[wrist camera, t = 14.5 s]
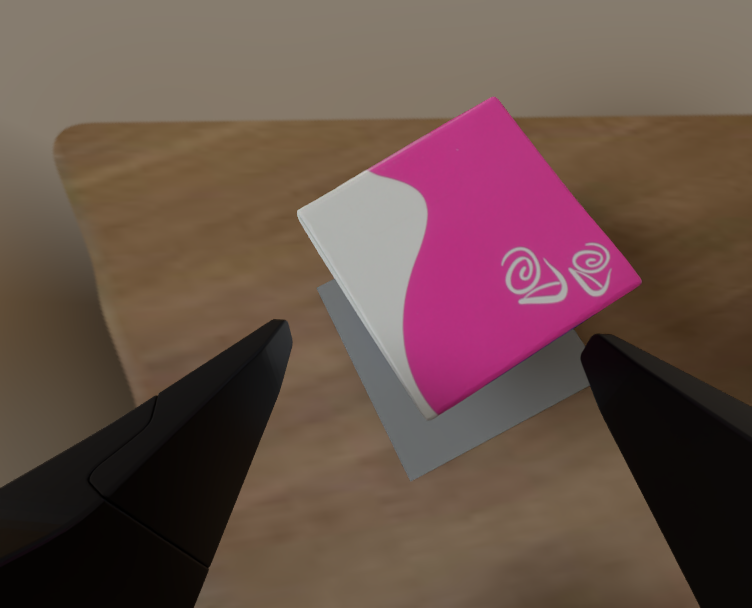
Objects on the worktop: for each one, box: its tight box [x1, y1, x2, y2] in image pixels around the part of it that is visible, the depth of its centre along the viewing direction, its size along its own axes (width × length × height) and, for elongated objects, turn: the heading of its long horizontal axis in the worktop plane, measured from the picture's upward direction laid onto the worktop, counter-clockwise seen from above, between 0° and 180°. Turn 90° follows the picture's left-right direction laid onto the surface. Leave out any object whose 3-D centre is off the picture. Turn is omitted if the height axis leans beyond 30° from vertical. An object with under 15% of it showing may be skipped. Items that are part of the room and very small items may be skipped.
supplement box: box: [297, 97, 642, 421], centre depth 11 cm, size 6×6×12 cm
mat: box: [317, 279, 590, 481], centre depth 17 cm, size 13×13×1 cm
